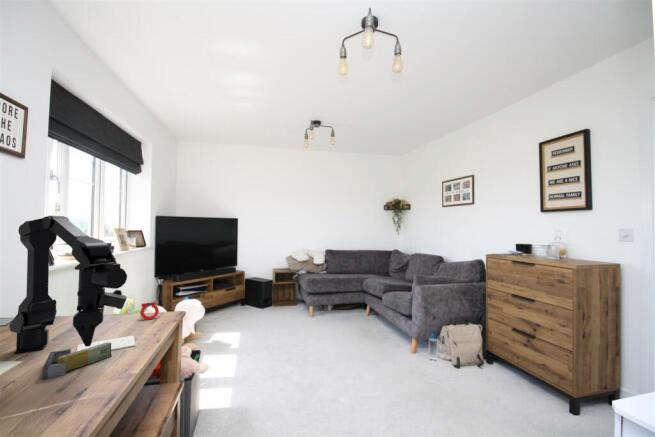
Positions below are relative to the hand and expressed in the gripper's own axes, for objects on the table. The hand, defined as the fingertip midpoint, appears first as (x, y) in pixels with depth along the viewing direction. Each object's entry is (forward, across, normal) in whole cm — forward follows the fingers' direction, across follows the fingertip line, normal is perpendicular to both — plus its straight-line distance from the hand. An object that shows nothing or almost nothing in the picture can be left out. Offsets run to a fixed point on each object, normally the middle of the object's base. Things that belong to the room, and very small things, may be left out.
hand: (89, 340), depth 84 cm
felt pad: (+6, +11, -4) cm, 13 cm away
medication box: (+6, -1, 0) cm, 7 cm away
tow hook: (+8, +38, -18) cm, 42 cm away
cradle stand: (+6, 0, +7) cm, 9 cm away
